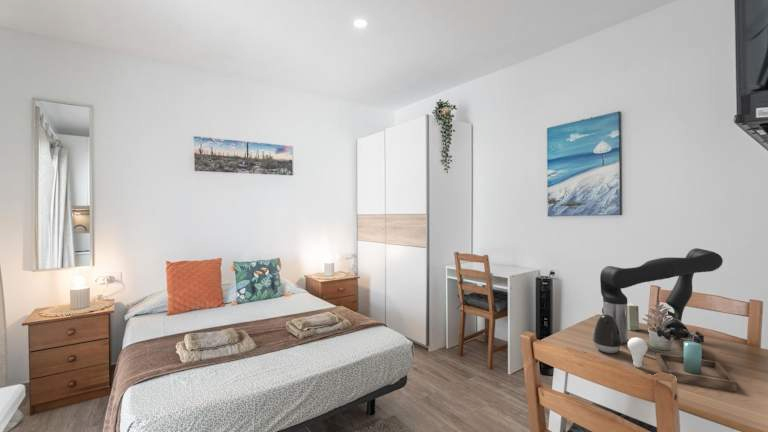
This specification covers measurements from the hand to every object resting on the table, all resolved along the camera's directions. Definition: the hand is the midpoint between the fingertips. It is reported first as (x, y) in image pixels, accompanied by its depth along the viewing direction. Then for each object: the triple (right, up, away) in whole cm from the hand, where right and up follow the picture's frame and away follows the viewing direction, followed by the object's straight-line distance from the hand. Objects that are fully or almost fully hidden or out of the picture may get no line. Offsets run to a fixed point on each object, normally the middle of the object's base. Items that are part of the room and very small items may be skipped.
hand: (683, 340), depth 135 cm
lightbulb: (-21, -9, -4) cm, 23 cm away
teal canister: (-6, -8, -10) cm, 14 cm away
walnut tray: (-6, -9, -10) cm, 15 cm away
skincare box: (+8, -9, +39) cm, 41 cm away
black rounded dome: (-22, -9, +12) cm, 26 cm away
